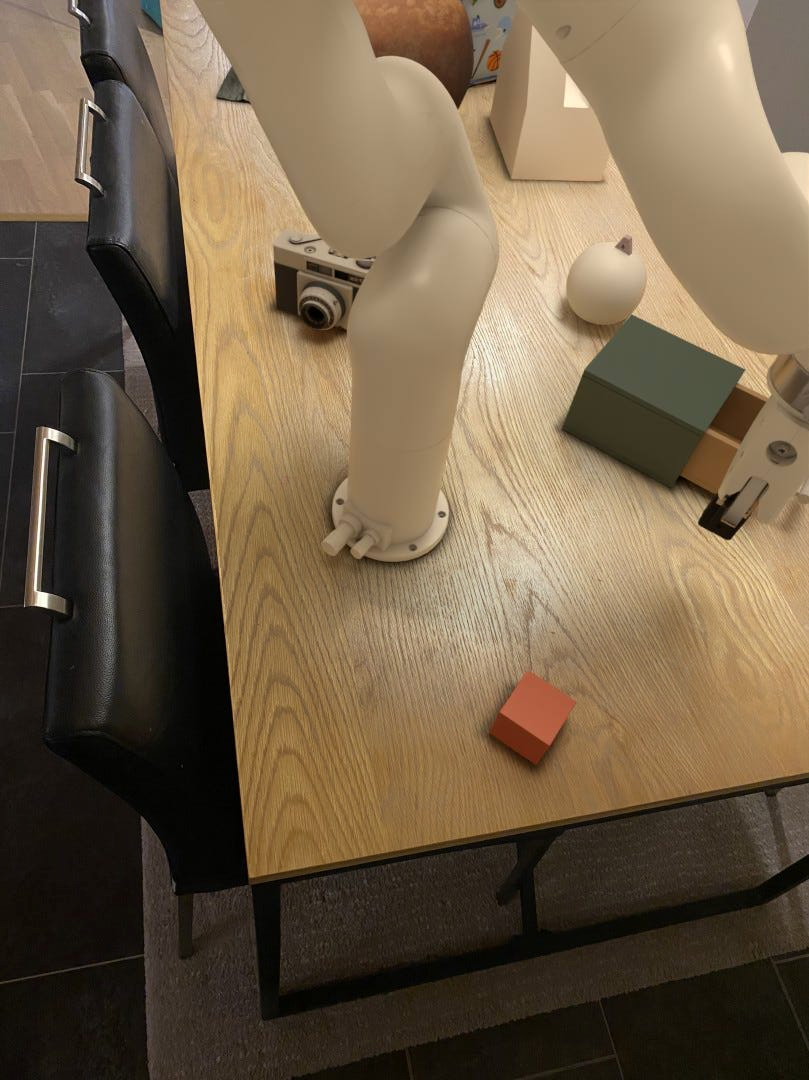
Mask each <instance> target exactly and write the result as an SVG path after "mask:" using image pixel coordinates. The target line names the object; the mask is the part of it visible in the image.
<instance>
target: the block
mask: <svg viewBox="0 0 809 1080" xmlns="http://www.w3.org/2000/svg"><path fill="white" fill-rule="evenodd" d="M576 704H577V701H576V700H575V699H573V698H572V697H571V696H569V695H567V694H566V693H564V692H563V691H561V690H560V689H559V688H556V687H555V686H553V685H552V684H551V683H549V682H547V681H546V680H544V679H543V678H541V677H540V676H538V675H537V674H535V673H534V672H532V671H531V670H529V669H527V670H526V671H525V673H524V675H523V676H522V678H521V679H520V681H519V682H518V684H517V685H516V687H514V689H513V691H512V692H511V694H510V695H509V697H508V698H507V700H506V701H505V703H504V704H503V706H502V707H501V709H500V710H499V712H498V714H497V716H496V717H495V720H494V722H493V724H492V726H491V728H490V730H489V734H490V735H491V736H493V737H494V738H496V739H497V740H499V741H500V742H502V743H503V744H504V745H506V746H507V747H508V748H510V749H512V750H513V751H514V752H516V753H517V754H519V755H520V756H521V757H523V758H524V759H526V760H528V761H529V762H531V763H532V764H533V765H535V766H537V765H538V763H539V762H540V760H541V759H542V758H543V757H544V755H545V754H546V752H547V751H548V750H549V748H550V746H551V745H552V744H553V742H554V740H555V739H556V737H557V735H558V734H559V732H560V730H561V729H562V727H563V725H564V724H565V722H566V720H567V719H568V717H569V715H570V713H572V710H573V709H574V707H575V705H576Z"/></svg>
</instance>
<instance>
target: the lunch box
mask: <svg viewBox="0 0 809 1080" xmlns="http://www.w3.org/2000/svg"><path fill="white" fill-rule="evenodd" d="M460 1H461V2H462V4H463V6H464V7H465V9H466V12H467V15H468V18H469V21H470V25H471V31H472V38H473V46H474V66H473V73H472V77H471V80H470V83H469V87H471V86H473V85H478V84H482V83H487V82H490V81H495V80H497V75H498V69H499V64H500V58H501V53H502V47H503V45H504V42H505V40H506V37H507V35H508V32H509V30H510V27H511V24H512V22H513V19H514V17H515V14H516V12H517V9H518V7H519V6H518V5H517V3H516V2H515V1H514V0H460Z"/></svg>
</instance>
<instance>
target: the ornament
mask: <svg viewBox="0 0 809 1080" xmlns="http://www.w3.org/2000/svg"><path fill="white" fill-rule="evenodd" d="M647 276H648V275H647V269H646V266H645V263H644V261H643V259H642V257H641V256H640V255H639V254H638V252H637V251H636V250H635V249H633V237H632V236H631V235H629V234H625V235H624V236H623V237H622V238H621V239H620V240H619V242H617V241H602V242H601V241H600V242H597V243H594V244H592V245H590V246H588V247H586V248H585V249H584V250H583V251H581V252H580V253H579V254H578V255H577V257H576V258H575V260H574V261H573V262H572V264H571V266H570V268H569V270H568V274H567V279H566V285H565V291H566V293H565V294H566V298H567V301H568V304H569V307H570V308H571V309H572V311H573V312H574V313H575V314H576V315H577V316H578V317H579V318H581V319H582V320H583V321H586V322H588V323H590V324H593V325H599V326H602V325H603V326H606V325H614V324H617V323H619V322H620V323H621V322H622V321H623V320H625V319H628V318H629V317H630V316H631V315H632V314H633V313H634V311H636V309H637V308H638V306H639V305H640V304H641V302H642V300H643V297H644V295H645V292H646V288H647V278H648V277H647Z"/></svg>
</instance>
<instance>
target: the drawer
mask: <svg viewBox="0 0 809 1080" xmlns="http://www.w3.org/2000/svg"><path fill="white" fill-rule="evenodd" d="M768 399H769V397H767V396H765V395H763V394H761V393H759V392H757V391H755V390H754V389H751V388H749V387H747V386H745V385H744V384H740V383H739V382H738V383H737V384H736V386H735V387H734V389H733V390H732V392H731V393H730V395H729V396H728V398H727V399H726V401H725V403H724V404H723V406H722V407H721V409H720V410H719V412H718V413H717V415H716V416H715V418H714V419H713V421H712V423H711V424H710V426H709V427H708V429H707V430H706V432H705V433H704V435H703V437H702V438H701V440H700V442H699V443H698V445H697V447H696V448H695V450H694V452H693V453H692V455H691V457H690V458H689V460H688V462H687V463H686V465H685V466H684V468H683V470H682V471H681V473H680V475H679V477H682V478H684V479H686V480H688V481H690V482H691V483H693V484H695V485H697V486H699V487H701V488H703V489H705V490H706V491H708V492H710V493H712V494H714V495H715V494H716V493H717V492H718V490H719V488H720V486H721V484H722V482H723V480H724V478H725V475H726V473H727V471H728V469H729V467H730V465H731V463H732V461H733V459H734V457H735V455H736V453H737V451H738V449H739V447H740V445H741V443H742V441H743V439H744V437H745V436H746V434H747V432H748V430H749V429H750V427H751V425H752V424H753V422H754V420H755V419H756V417H757V415H758V414H759V412H760V411H761V409H762V408H763V406H764V405H765V403H766V402H767V400H768ZM794 496H795V497H796V500H797V502H798V503H800V504H803V505H808V504H809V476H808V478H807V479H806V480H805V482H804V483H803V484H802V485H801V487H800V488H799V489H798V491H797V492H796V493H795V494H794Z"/></svg>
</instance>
